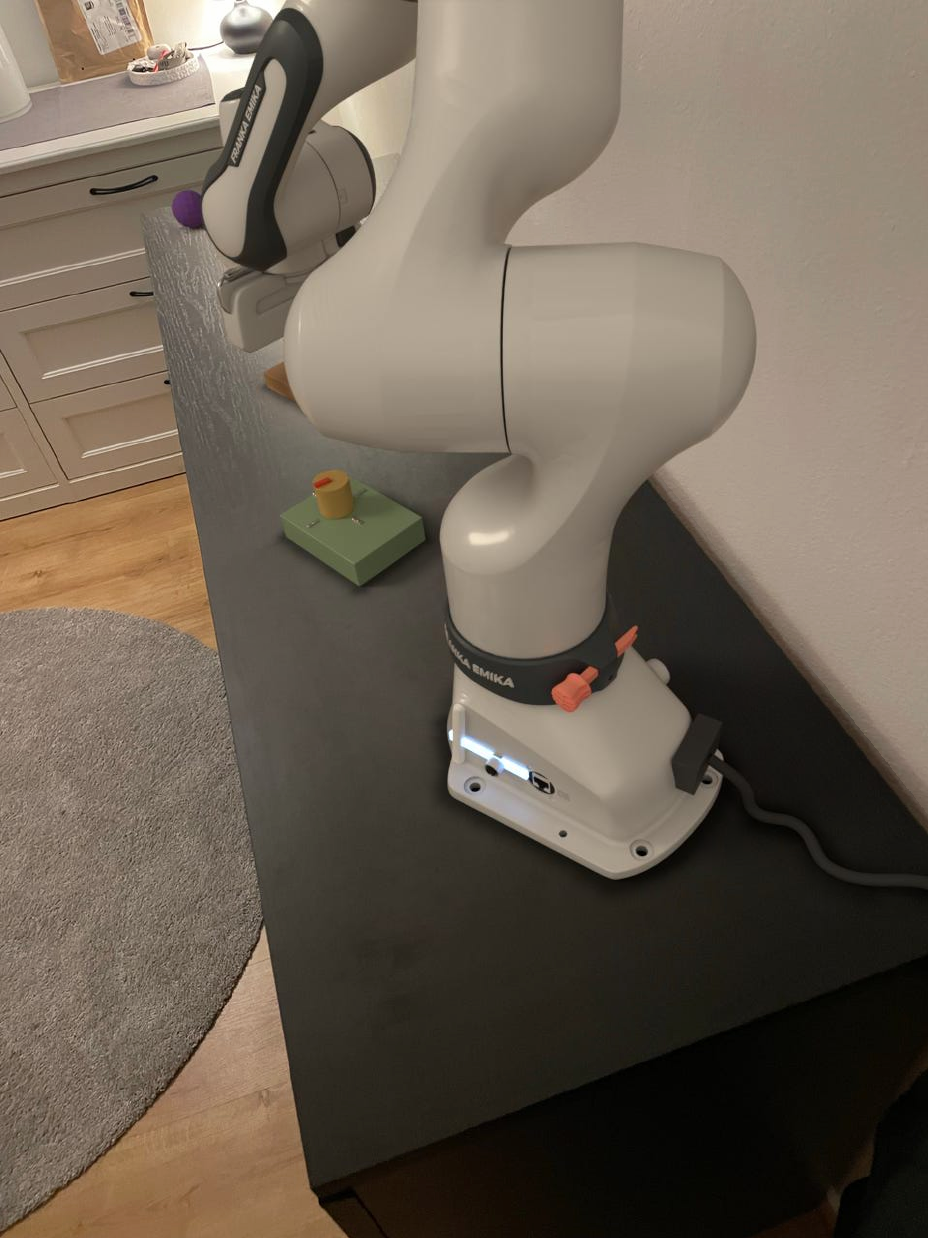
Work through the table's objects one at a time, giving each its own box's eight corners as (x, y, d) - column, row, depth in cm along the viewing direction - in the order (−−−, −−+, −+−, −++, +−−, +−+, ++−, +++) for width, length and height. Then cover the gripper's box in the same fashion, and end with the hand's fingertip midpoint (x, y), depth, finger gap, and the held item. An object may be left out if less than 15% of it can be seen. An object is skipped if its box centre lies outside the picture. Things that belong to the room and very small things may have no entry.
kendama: (288, 188, 154) (171, 203, 150) (292, 220, 159) (179, 236, 154) (281, 170, 157) (166, 185, 153) (285, 203, 162) (173, 218, 158)
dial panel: (426, 540, 91) (422, 515, 88) (359, 587, 87) (353, 563, 84) (351, 495, 97) (345, 471, 95) (286, 537, 93) (278, 513, 91)
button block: (374, 383, 113) (369, 355, 110) (319, 415, 109) (312, 386, 106) (320, 358, 119) (314, 330, 116) (267, 387, 115) (259, 359, 112)
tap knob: (344, 492, 93) (337, 462, 90) (360, 509, 90) (354, 479, 88) (313, 506, 91) (305, 476, 89) (329, 523, 89) (322, 493, 86)
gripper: (228, 284, 95) (261, 397, 105) (371, 217, 104) (389, 327, 114) (196, 270, 98) (231, 381, 108) (338, 206, 107) (358, 314, 117)
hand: (313, 353), depth 111 cm, fingers closed, pressing on red button
